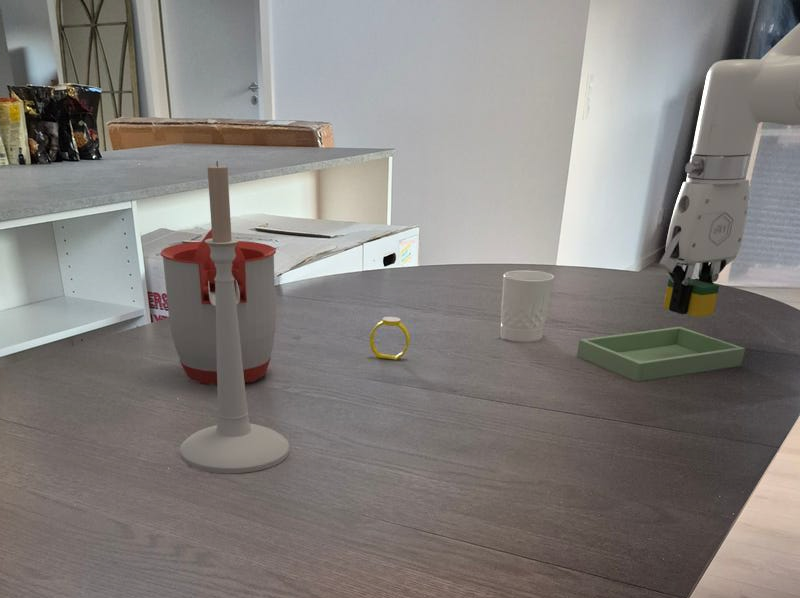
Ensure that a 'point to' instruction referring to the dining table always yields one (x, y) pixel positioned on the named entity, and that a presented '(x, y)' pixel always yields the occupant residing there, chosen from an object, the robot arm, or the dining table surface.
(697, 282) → the sponge
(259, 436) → the candlestick
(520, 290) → the white cup
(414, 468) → the dining table surface
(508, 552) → the dining table surface
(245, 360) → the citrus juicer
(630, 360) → the tray
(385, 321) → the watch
